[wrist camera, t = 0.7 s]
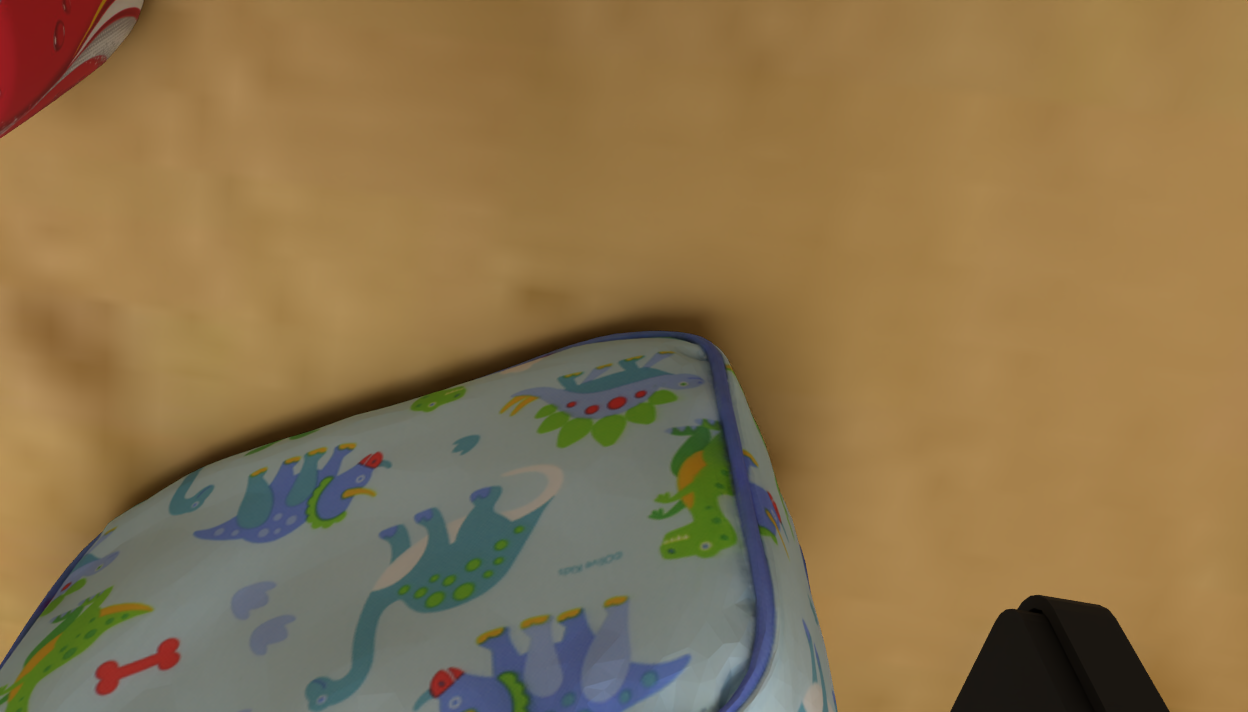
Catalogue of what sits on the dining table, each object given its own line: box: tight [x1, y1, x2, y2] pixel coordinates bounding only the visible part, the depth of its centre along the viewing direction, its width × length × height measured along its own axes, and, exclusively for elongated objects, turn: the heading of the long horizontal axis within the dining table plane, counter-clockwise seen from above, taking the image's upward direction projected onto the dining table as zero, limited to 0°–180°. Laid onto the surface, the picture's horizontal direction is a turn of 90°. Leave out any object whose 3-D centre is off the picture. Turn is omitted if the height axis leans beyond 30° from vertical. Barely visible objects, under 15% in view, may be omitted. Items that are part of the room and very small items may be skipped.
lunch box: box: [0, 331, 837, 712], centre depth 36 cm, size 26×11×21 cm, turn 110°
